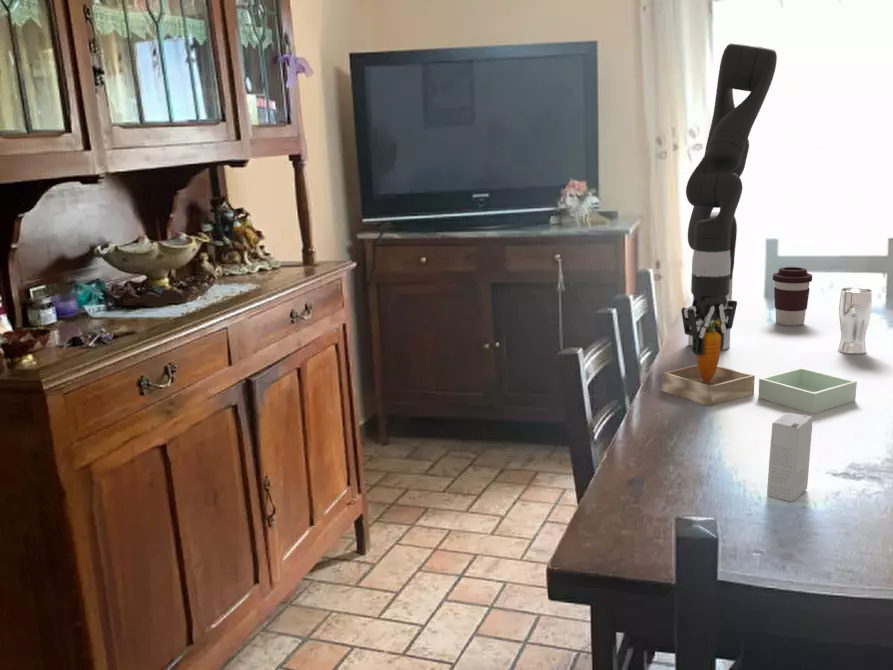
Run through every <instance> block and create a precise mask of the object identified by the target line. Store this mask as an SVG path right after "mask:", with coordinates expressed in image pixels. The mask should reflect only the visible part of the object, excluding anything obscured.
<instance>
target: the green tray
mask: <svg viewBox="0 0 893 670" xmlns="http://www.w3.org/2000/svg"><path fill="white" fill-rule="evenodd" d="M857 383H858V382H857V381H855V380H852V379H847V378H844V377H839V376H835V375H831V374H827V373H823V372H820V371H815V370H811V369H808V368H802V367H799V368H795V369H791V370H788V371H784V372H779V373H776V374H771V375H768V376H765V377H764V376H763V377H761V378H759V379H758V396H757V397H758V398H759V399H763V400H766V401H769V402H772V403H775V404H776V403H777V404H778V405H783V406H784V407H785V406H786V407H788V408H789V407H790V408H792V409H796V410H799V411H803V412H806V413H810V414H812V415H814V414H817V413H820V412H823V411H826V410H830V409H832V408H836V407H840V406H843V405H846V404H849V403H854V402H856V397H857V396H856V394H857Z"/></svg>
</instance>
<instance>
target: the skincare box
mask: <svg viewBox="0 0 893 670" xmlns="http://www.w3.org/2000/svg"><path fill="white" fill-rule="evenodd" d="M813 420H814V419H813V417H812V416H809V415H804V414H798V413H792V412H785V413H784V414H782V415H781V416H780V417H779V418H777V419H776V420H775V421H773V422H772V424H771V435H770V436H771V437H770V449H769V459H768V460H769V462H768V475H767V488H766V489H767V490H766V495H767V496H768V497H771V498H774V499H778V500H782V501H787V502H791V503H793V502H794V501H796V499H798V498H799V497H800V496H801V495H802V494H803V493H805V491H806V490H807V489H808V484H809V483H808V481H809V472H810V471H809V470H810V469H809V468H810V459H811V458H810V457H811V445H812V434H813V432H812V431H813V422H814V421H813Z"/></svg>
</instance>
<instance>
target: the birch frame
mask: <svg viewBox="0 0 893 670" xmlns="http://www.w3.org/2000/svg"><path fill="white" fill-rule="evenodd" d="M755 377H756V375H754V374H751V373H747V372H742V371H740V370H736V369H733V368H728V367H725V366H721V365H719V364H718V365H717V368H716V371H715V373H714V376H713V377H712V379H711V381H710V382H709V383H711V385H708V384H706V383H705V382H704V381H703V379H702V377H701V375H700V372H699V369H698V364H694V365H689V366H686V367H682V368H677V369H673V370H669V371H664V372H662V392H664V393H667V394H672V395H673V396H677V397H680V398H682V399H683V398H684V399H687V400H689V401H692V402H696V403H699V404H701V405H704V406H707V407H711V406H715V405H719V404H723V403H726V402H730V401H733V400H738V399H741V398H745V397H748V396H753V395H755V379H756V378H755Z"/></svg>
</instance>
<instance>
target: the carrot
mask: <svg viewBox="0 0 893 670" xmlns="http://www.w3.org/2000/svg"><path fill="white" fill-rule="evenodd" d="M718 320H719V318H718V319H717V320H714V322H713V324H712V326H711V323H709V326H708V327H709V328H708V327H707V328H706V330H705V333H704V336H703V338H704V354H703V355H701V356H699V355H695V357H696V363H697V364H696V365H698V369H699V372H700V375H701V377H702V379H703V381H704V382H703V383H704V384H706V385H708V384H709V383H711V382H710V381H711V379H712V377H713V376H714V373H715V371H716V368H717V365H718V366H719V360H720V354H721V351H720V345H721V336H720V334H719V333H717V332H716V331H713V329H714V327H715V325H716V324H717V323H718ZM703 322H704V321H703Z"/></svg>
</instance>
